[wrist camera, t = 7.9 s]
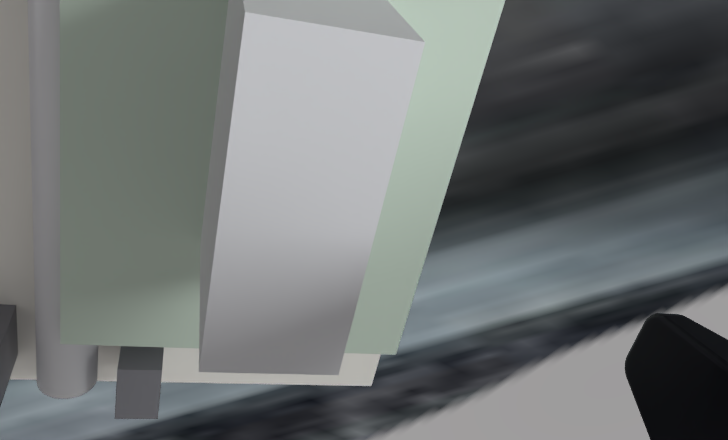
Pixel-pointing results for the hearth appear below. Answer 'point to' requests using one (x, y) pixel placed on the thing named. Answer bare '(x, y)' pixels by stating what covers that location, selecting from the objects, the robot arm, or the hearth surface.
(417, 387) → the hearth surface
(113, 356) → the white box base
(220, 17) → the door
